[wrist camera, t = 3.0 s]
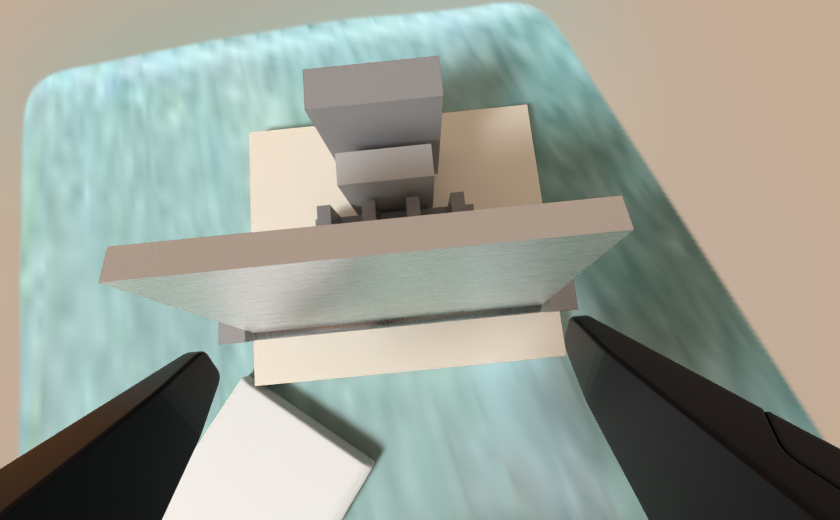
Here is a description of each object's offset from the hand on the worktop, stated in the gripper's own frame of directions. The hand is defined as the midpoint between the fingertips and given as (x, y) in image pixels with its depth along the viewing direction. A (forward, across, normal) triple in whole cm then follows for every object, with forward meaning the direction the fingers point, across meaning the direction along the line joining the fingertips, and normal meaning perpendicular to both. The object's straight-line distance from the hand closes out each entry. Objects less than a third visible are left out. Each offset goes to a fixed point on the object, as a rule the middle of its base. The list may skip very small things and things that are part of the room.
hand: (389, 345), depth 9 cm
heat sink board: (+11, 0, -4) cm, 12 cm away
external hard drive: (+2, -9, -14) cm, 17 cm away
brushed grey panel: (+4, 0, -3) cm, 5 cm away
